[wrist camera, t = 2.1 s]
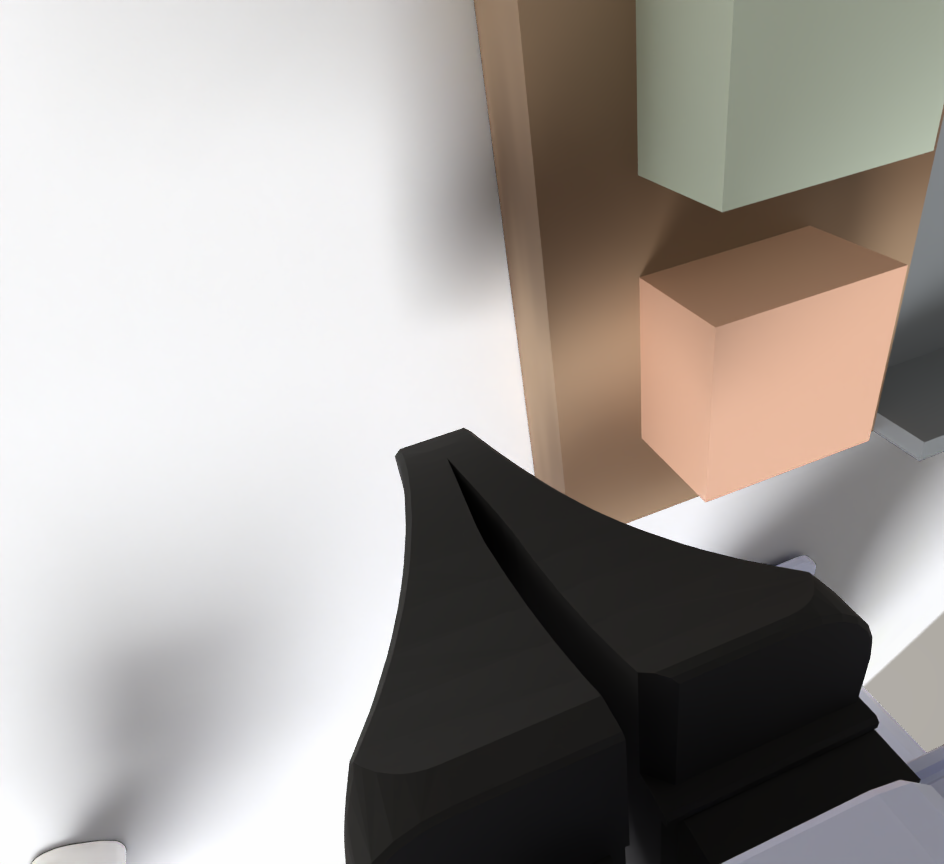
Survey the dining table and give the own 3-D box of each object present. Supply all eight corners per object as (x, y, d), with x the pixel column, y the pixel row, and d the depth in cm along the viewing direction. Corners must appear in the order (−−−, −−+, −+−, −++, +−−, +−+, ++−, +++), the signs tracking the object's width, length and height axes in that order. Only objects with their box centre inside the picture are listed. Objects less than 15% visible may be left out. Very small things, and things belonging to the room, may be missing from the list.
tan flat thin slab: (819, 395, 21) (873, 430, 19) (537, 496, 19) (570, 544, 17) (940, -342, 12) (1056, -390, 10) (438, -277, 10) (486, -321, 9)
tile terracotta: (788, 386, 17) (869, 440, 15) (641, 438, 16) (705, 502, 14) (810, 225, 15) (907, 265, 13) (639, 277, 14) (715, 327, 12)
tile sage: (823, 124, 14) (933, 150, 12) (638, 174, 13) (721, 212, 11) (858, -140, 11) (1003, -164, 9) (635, -97, 11) (739, -114, 9)
